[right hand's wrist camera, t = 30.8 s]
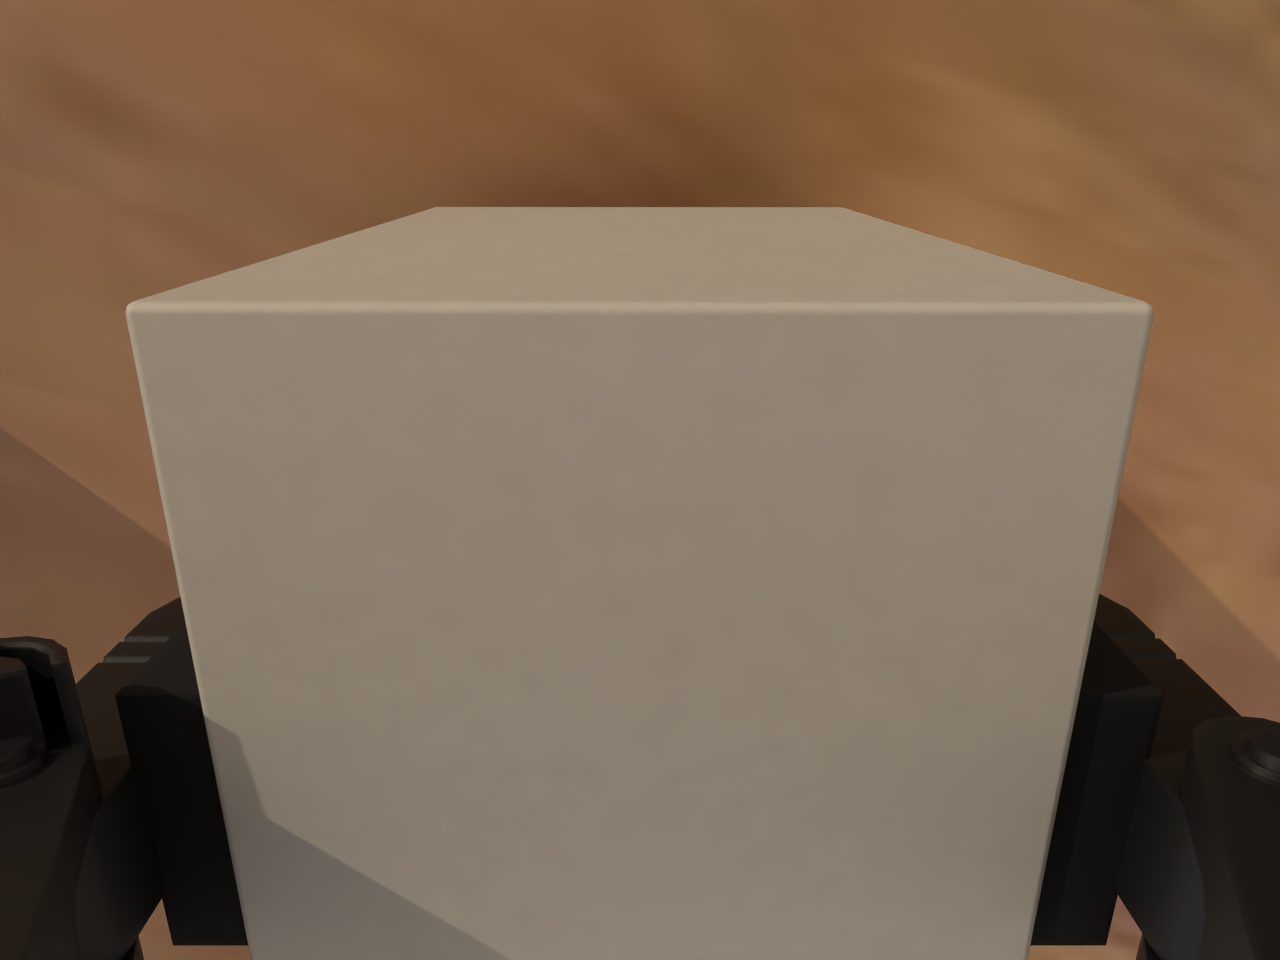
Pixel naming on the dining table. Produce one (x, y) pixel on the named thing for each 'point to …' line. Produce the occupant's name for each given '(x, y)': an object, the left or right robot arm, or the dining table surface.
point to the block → (639, 579)
